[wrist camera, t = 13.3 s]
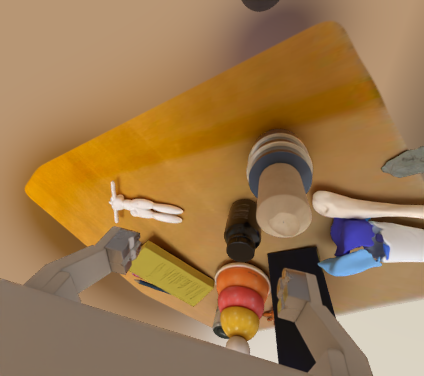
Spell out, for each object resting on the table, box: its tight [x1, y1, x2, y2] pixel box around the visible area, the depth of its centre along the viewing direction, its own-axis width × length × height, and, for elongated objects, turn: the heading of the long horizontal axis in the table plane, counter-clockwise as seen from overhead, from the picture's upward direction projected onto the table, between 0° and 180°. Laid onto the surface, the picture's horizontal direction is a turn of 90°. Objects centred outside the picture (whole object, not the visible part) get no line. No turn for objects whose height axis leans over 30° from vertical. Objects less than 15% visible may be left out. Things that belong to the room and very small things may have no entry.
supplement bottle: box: [224, 199, 261, 262], centre depth 41 cm, size 7×7×12 cm
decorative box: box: [268, 247, 336, 373], centre depth 41 cm, size 11×30×9 cm
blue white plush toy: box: [312, 191, 424, 276], centre depth 37 cm, size 13×25×12 cm
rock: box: [381, 146, 424, 178], centre depth 34 cm, size 9×2×5 cm
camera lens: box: [213, 306, 230, 339], centre depth 61 cm, size 6×6×8 cm
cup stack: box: [247, 129, 313, 198], centre depth 34 cm, size 10×10×11 cm
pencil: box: [135, 280, 170, 294], centre depth 63 cm, size 1×1×15 cm
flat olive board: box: [128, 240, 214, 307], centre depth 59 cm, size 12×2×24 cm
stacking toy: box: [215, 262, 271, 355], centre depth 48 cm, size 14×14×20 cm
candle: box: [256, 163, 312, 238], centre depth 25 cm, size 6×6×10 cm
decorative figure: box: [109, 181, 183, 223], centre depth 51 cm, size 4×12×18 cm
